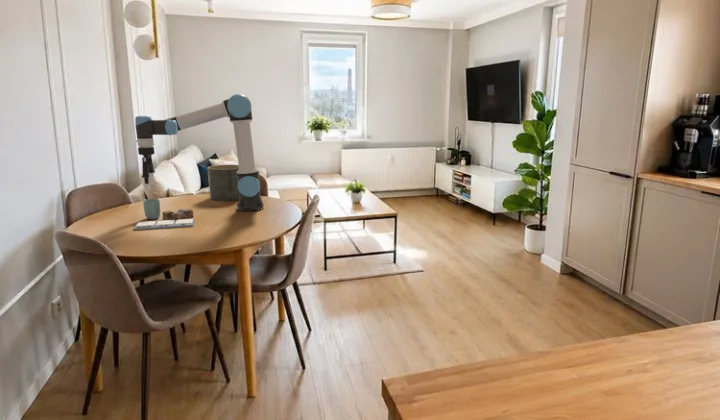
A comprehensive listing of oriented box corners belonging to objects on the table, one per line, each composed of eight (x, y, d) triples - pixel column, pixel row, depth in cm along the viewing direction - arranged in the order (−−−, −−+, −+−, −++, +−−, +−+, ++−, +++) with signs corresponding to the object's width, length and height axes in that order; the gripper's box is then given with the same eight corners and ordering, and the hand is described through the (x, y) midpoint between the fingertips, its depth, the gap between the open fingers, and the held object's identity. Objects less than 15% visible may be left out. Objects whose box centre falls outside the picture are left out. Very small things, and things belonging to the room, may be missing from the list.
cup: (155, 220, 237) (153, 202, 235) (141, 220, 239) (139, 201, 236) (164, 217, 245) (162, 199, 242) (151, 216, 246) (149, 198, 244)
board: (194, 220, 238) (194, 218, 238) (192, 226, 227) (192, 224, 226) (138, 224, 231) (138, 221, 231) (133, 230, 220) (133, 228, 219)
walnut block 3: (192, 215, 248) (191, 208, 247) (193, 217, 245) (192, 210, 244) (184, 216, 246) (183, 209, 245) (185, 218, 243) (185, 211, 242)
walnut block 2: (183, 219, 240) (182, 212, 239) (179, 221, 237) (179, 214, 236) (176, 219, 241) (175, 212, 240) (172, 221, 237) (171, 213, 236)
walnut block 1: (169, 217, 244) (169, 210, 243) (174, 218, 242) (173, 211, 241) (163, 219, 241) (162, 212, 240) (167, 220, 238) (166, 213, 237)
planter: (248, 194, 305) (246, 164, 300) (241, 201, 284) (239, 169, 279) (214, 194, 304) (212, 164, 299) (205, 201, 282) (203, 169, 278)
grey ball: (186, 214, 251) (185, 207, 250) (185, 216, 247) (184, 209, 246) (178, 214, 250) (177, 207, 249) (177, 216, 246) (176, 209, 245)
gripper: (142, 144, 243) (146, 183, 248) (133, 149, 220) (137, 192, 225) (157, 144, 245) (160, 183, 250) (149, 149, 222) (154, 191, 227)
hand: (149, 187), depth 237 cm, fingers open, 13 cm apart
